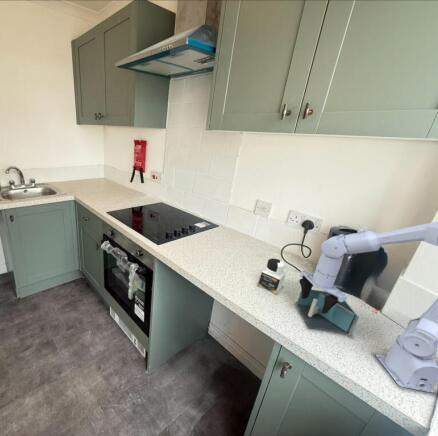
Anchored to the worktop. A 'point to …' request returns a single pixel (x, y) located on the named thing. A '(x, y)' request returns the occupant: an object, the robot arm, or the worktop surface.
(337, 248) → the robot arm
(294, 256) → the worktop surface
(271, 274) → the medicine bottle
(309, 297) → the teal open box
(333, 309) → the teal shelf
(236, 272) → the worktop surface
